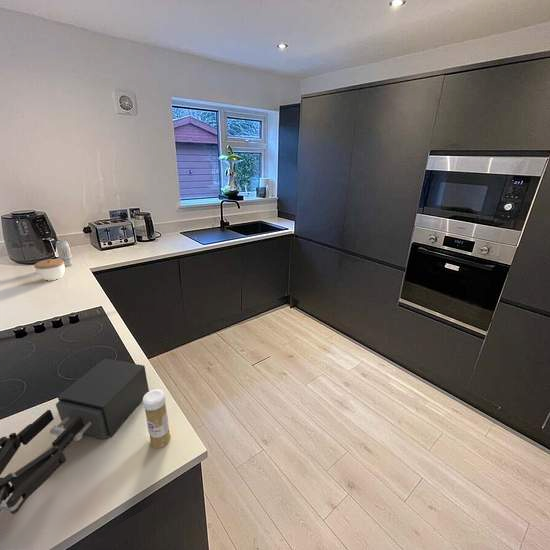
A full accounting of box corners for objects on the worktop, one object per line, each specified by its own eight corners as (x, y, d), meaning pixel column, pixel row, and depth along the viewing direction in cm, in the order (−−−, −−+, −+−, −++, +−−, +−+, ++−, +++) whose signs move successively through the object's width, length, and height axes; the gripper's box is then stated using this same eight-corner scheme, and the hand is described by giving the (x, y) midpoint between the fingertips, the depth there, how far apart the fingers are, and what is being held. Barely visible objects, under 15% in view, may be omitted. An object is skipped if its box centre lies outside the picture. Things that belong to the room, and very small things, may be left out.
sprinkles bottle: (146, 447, 66) (138, 403, 61) (156, 430, 70) (148, 387, 65) (166, 449, 66) (158, 405, 61) (174, 432, 70) (168, 389, 65)
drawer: (89, 456, 63) (81, 430, 60) (46, 444, 65) (37, 419, 62) (141, 396, 79) (137, 373, 76) (106, 388, 81) (100, 366, 78)
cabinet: (111, 437, 68) (103, 407, 65) (67, 426, 71) (57, 396, 67) (149, 393, 81) (144, 365, 78) (111, 385, 84) (104, 358, 80)
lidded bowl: (38, 285, 147) (32, 264, 143) (39, 277, 157) (33, 258, 153) (68, 279, 154) (63, 260, 150) (67, 272, 164) (62, 254, 160)
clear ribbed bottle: (64, 267, 171) (58, 243, 166) (59, 265, 174) (53, 241, 168) (75, 264, 176) (69, 241, 170) (70, 262, 179) (64, 239, 173)
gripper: (-104, 539, 46) (33, 421, 67) (-2, 574, 43) (108, 438, 64) (-127, 511, 43) (23, 396, 64) (-20, 546, 40) (102, 413, 61)
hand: (65, 417), depth 64 cm, fingers open, 7 cm apart
